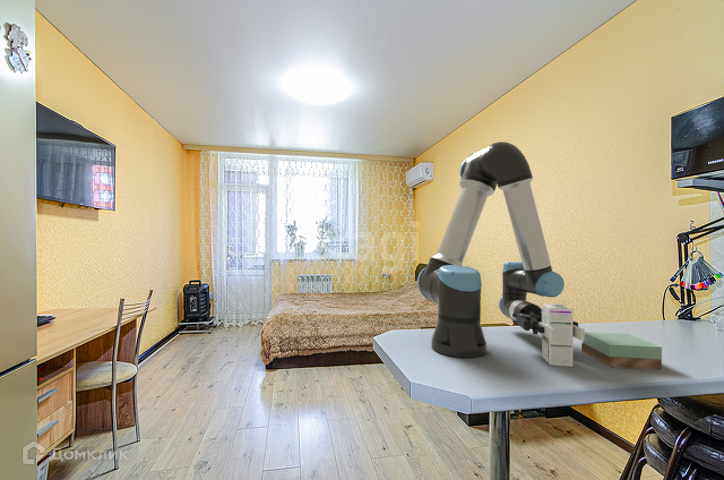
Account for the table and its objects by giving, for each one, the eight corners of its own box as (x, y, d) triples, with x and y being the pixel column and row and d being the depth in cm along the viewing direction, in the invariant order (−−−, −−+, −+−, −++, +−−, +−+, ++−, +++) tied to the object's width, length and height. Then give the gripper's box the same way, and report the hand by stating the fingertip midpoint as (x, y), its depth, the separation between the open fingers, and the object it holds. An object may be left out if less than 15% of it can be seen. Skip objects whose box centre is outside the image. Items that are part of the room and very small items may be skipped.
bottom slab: (610, 369, 82) (610, 357, 82) (581, 353, 94) (581, 342, 94) (661, 371, 81) (661, 359, 81) (625, 354, 93) (625, 344, 93)
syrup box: (573, 367, 81) (574, 308, 82) (547, 365, 83) (548, 307, 83) (564, 359, 87) (565, 304, 87) (540, 357, 88) (541, 303, 88)
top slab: (609, 356, 82) (609, 344, 82) (582, 342, 94) (582, 331, 94) (661, 359, 81) (661, 347, 81) (627, 344, 93) (628, 333, 93)
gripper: (558, 327, 102) (609, 351, 79) (494, 325, 103) (526, 348, 80) (558, 302, 102) (609, 320, 79) (494, 301, 103) (526, 317, 80)
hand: (567, 334), depth 80 cm, fingers closed on syrup box, 6 cm apart
